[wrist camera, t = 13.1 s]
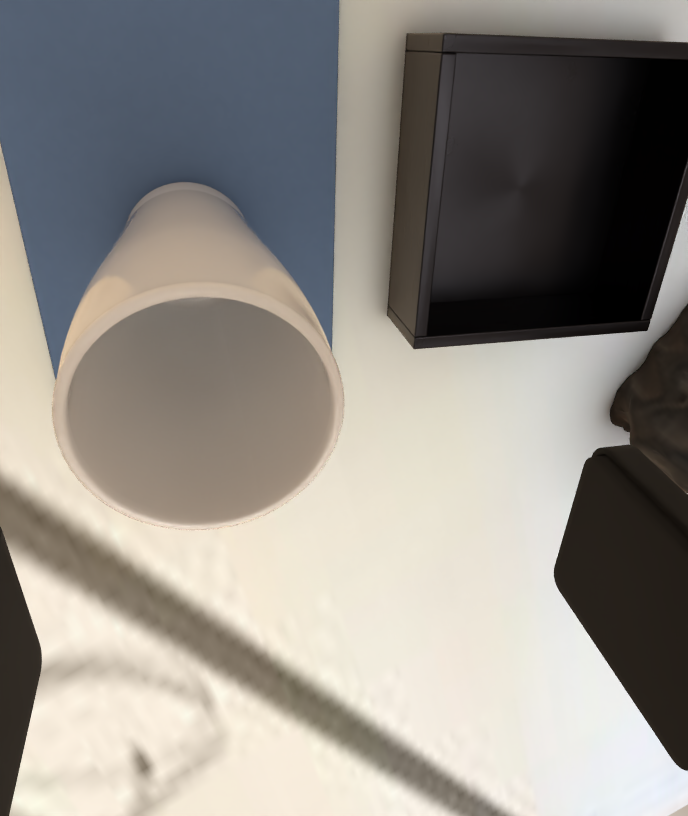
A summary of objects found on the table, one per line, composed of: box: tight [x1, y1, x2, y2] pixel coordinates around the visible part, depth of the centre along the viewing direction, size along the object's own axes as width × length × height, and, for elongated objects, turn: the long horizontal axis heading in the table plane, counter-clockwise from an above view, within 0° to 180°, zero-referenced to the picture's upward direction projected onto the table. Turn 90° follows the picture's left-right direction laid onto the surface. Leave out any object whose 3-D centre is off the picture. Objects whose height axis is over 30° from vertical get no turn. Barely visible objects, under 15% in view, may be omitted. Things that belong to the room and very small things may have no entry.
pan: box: [387, 33, 688, 349], centre depth 28 cm, size 12×12×4 cm
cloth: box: [0, 0, 339, 379], centre depth 27 cm, size 20×13×1 cm, turn 179°
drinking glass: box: [52, 182, 344, 530], centre depth 21 cm, size 7×7×15 cm
